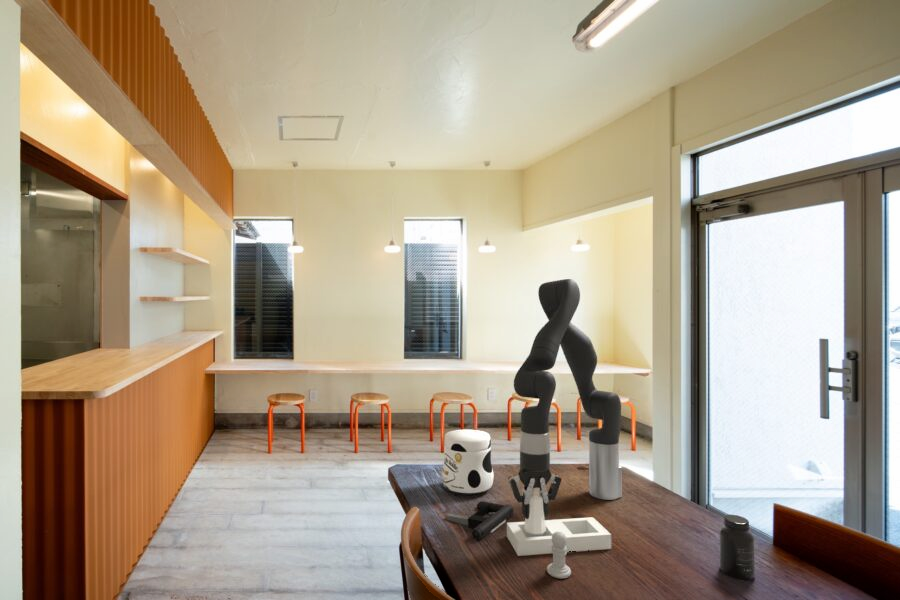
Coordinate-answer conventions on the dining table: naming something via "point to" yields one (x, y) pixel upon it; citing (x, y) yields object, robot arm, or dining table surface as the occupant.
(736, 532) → the supplement bottle
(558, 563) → the chess piece
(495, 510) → the door handle
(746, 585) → the dining table surface
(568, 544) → the rail
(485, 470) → the milk container
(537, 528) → the salt shaker
